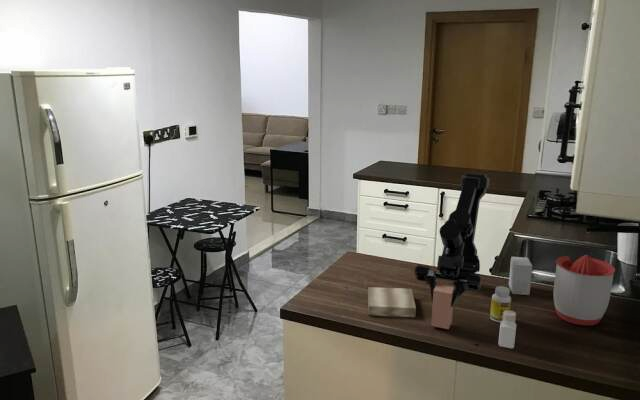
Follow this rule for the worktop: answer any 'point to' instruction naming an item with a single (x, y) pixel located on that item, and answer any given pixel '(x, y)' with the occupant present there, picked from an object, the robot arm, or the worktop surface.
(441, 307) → the terracotta block
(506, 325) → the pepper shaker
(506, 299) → the supplement bottle
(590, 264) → the citrus juicer
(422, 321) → the worktop surface
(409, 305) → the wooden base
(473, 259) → the robot arm
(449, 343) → the worktop surface
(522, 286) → the small box
